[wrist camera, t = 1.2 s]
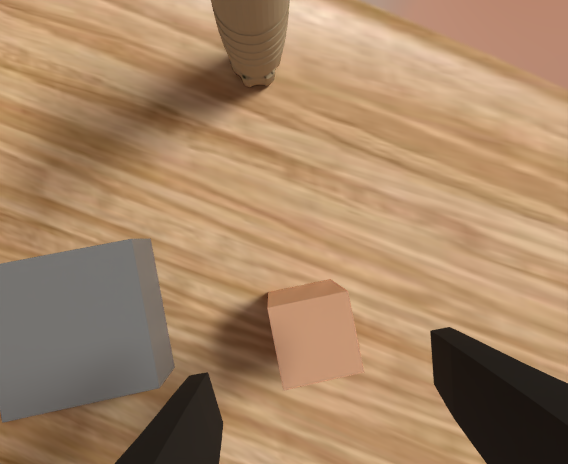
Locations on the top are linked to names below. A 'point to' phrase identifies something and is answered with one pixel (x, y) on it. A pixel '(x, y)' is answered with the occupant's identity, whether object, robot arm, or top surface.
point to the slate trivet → (81, 328)
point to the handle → (253, 36)
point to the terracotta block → (314, 333)
